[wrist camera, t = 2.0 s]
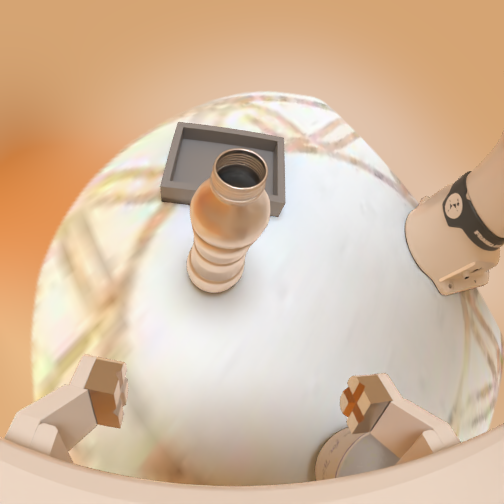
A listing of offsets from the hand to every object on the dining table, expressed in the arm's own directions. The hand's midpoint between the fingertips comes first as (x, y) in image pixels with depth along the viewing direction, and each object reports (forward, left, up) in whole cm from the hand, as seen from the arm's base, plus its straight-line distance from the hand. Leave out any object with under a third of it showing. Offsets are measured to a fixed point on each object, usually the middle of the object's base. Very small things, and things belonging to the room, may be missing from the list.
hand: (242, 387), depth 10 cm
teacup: (-17, +12, -25) cm, 33 cm away
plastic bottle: (0, -13, -25) cm, 28 cm away
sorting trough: (0, -28, -25) cm, 38 cm away
